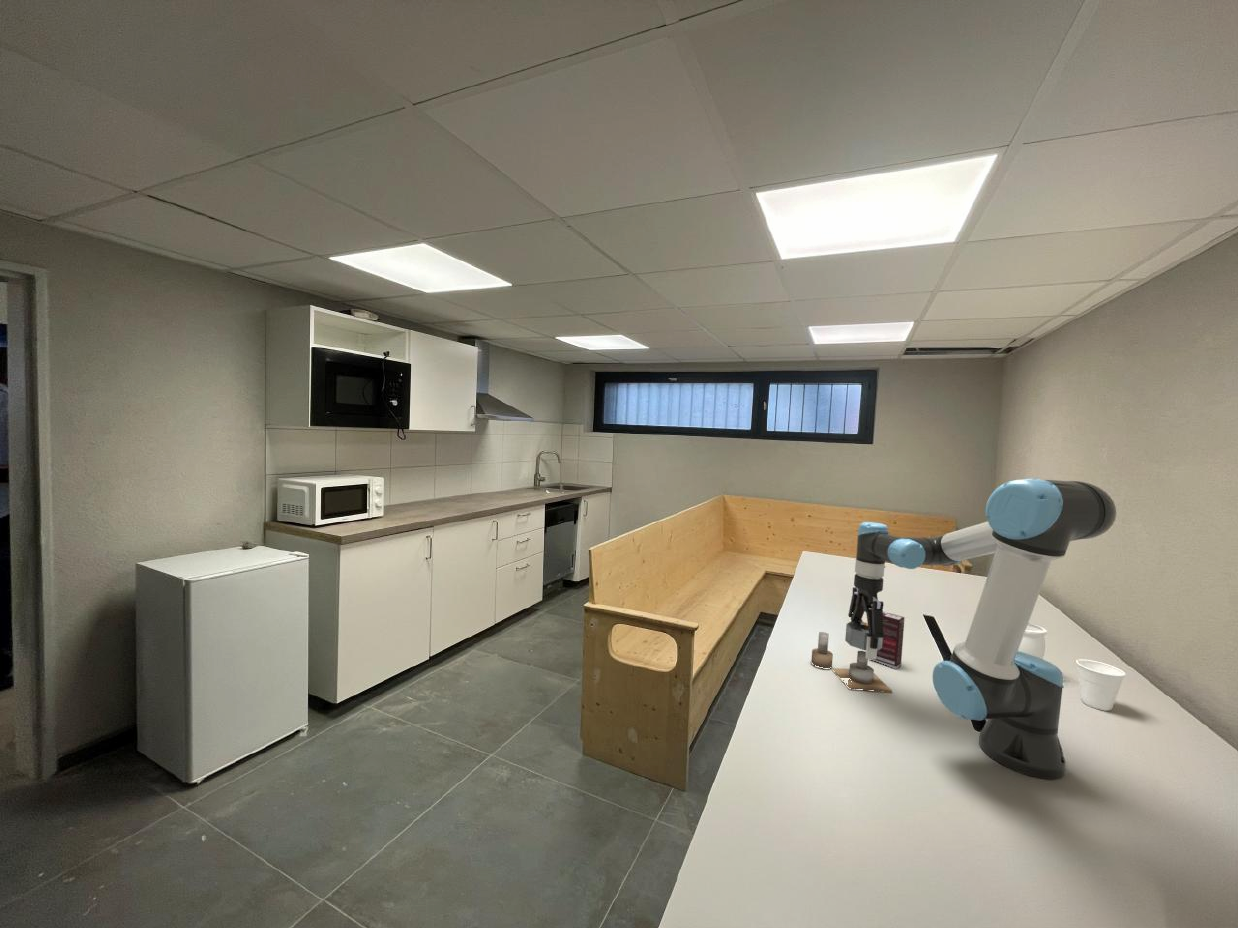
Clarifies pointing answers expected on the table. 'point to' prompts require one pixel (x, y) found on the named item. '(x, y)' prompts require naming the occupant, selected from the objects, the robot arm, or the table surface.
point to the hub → (862, 675)
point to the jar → (1033, 641)
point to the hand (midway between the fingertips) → (862, 650)
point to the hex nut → (859, 635)
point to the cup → (1099, 683)
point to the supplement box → (891, 641)
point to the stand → (822, 652)
